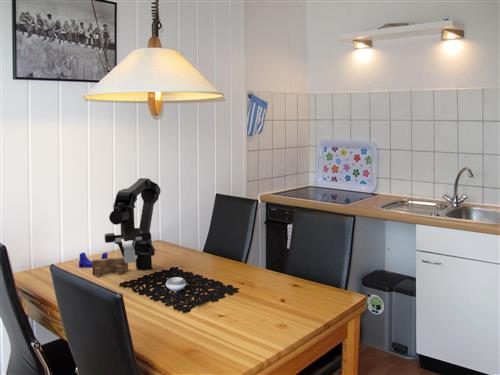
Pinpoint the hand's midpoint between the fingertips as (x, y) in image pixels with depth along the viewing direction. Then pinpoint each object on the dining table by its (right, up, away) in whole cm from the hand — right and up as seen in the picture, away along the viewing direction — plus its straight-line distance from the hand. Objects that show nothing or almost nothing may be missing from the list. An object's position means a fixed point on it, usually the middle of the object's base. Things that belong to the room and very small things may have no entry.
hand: (128, 256), depth 217 cm
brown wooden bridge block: (-10, -9, +8) cm, 15 cm away
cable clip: (-21, -8, +20) cm, 30 cm away
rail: (0, -1, 0) cm, 1 cm away
